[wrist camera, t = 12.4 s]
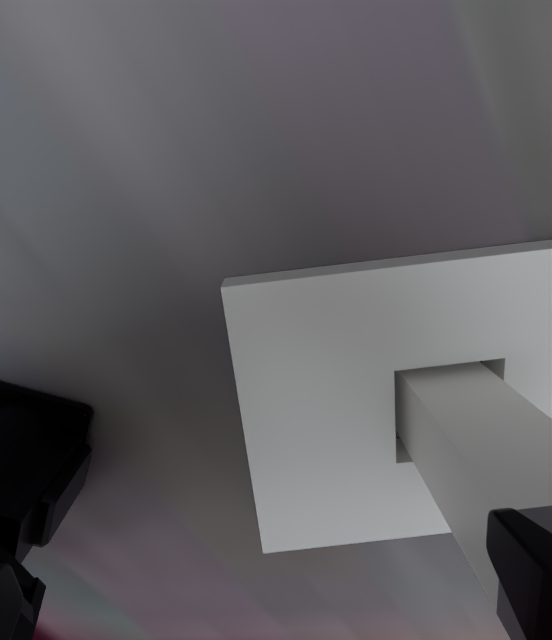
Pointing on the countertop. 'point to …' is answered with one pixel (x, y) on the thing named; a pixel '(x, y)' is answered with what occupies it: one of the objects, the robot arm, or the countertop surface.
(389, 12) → the countertop surface
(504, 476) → the plug
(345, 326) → the socket
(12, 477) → the robot arm
